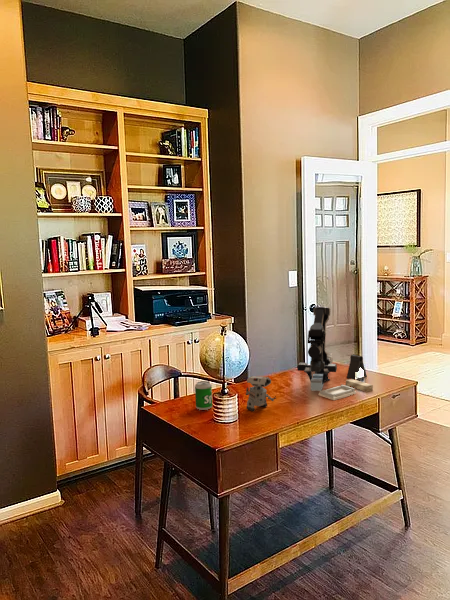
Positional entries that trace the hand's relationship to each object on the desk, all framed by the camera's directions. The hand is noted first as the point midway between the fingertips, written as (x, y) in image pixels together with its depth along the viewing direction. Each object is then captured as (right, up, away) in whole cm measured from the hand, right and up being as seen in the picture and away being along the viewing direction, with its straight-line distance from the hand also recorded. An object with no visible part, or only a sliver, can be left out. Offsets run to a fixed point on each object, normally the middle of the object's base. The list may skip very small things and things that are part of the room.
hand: (317, 384), depth 244 cm
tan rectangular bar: (+21, -2, +1) cm, 21 cm away
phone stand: (+25, 0, +19) cm, 31 cm away
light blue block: (0, -1, 0) cm, 2 cm away
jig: (+8, -4, -8) cm, 12 cm away
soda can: (-55, -8, -21) cm, 59 cm away
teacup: (+10, +1, +33) cm, 35 cm away
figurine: (-30, -7, -24) cm, 39 cm away
